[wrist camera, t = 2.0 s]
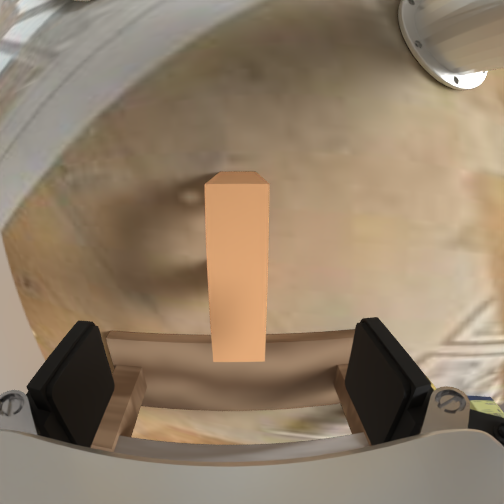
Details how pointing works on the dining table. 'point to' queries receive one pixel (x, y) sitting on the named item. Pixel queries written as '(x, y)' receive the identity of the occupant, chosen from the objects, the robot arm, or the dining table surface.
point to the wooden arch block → (237, 264)
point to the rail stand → (226, 391)
